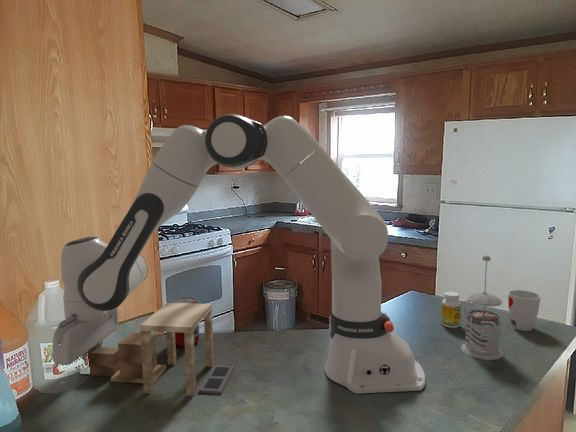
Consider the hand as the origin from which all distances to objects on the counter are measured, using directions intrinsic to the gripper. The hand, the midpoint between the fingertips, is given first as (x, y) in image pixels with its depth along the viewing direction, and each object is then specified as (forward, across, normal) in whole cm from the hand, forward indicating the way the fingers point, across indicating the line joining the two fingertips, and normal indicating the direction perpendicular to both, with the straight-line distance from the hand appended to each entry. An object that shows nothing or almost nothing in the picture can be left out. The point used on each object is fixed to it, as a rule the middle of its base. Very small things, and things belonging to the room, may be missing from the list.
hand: (90, 364), depth 97 cm
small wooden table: (+2, 0, -22) cm, 22 cm away
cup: (+2, +38, -111) cm, 117 cm away
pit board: (+2, 0, -31) cm, 31 cm away
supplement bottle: (+2, +38, -91) cm, 98 cm away
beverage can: (+2, +18, -17) cm, 25 cm away
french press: (+2, +22, -94) cm, 96 cm away
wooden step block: (+2, 0, -7) cm, 8 cm away
